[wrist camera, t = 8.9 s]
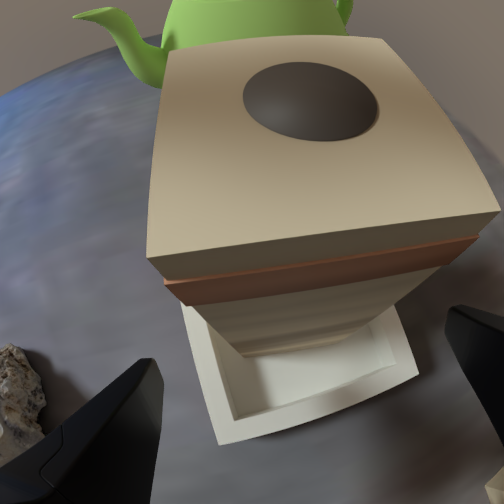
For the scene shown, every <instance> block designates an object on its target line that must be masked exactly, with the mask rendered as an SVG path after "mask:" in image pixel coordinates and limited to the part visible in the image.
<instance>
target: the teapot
mask: <svg viewBox="0 0 504 504" xmlns="http://www.w3.org/2000/svg"><path fill="white" fill-rule="evenodd" d="M352 8H353V0H337V4H336V7H335V5H334V3H333V1H332V0H173V2H172V4H171V7H170V10H169V13H168V16H167V19H166V23H165V26H164V31H163V36H162V44H161V48H159V47H154V46H150V45H148V44H146V43H145V42H144V41H143V40H142V38H141V37H140V35H139V33H138V31H137V29H136V28H135V25H134V23H133V21H132V20H131V18H130V17H129V16H128V15H127V14H126V13H125V12H124V11H122V10H120V9H118V8H115V7H106V8H100V9H95V10H91V11H87V12H84V13H81V14H78V15H75V16H73V18H74V19H83V20H88V21H93V22H96V23H98V24H100V25H101V26H103V27H105V28H106V29H107V30H108V31H109V32H110V33H111V35H112V36H113V38H114V39H115V41H116V43H117V45H118V47H119V49H120V52H121V54H122V56H123V58H124V60H125V62H126V63H127V65H128V67H129V69H130V70H131V71H132V72H133V74H134V75H135V76H136V77H137V78H138V79H140V80H141V81H142V82H143V83H146V84H148V85H150V86H153V87H155V88H160V89H162V86H163V80H164V75H165V69H166V64H167V59H168V54H169V51H173V50H178V49H182V48H187V47H192V46H198V45H203V44H209V43H216V42H223V41H230V40H238V39H247V38H258V37H271V36H291V35H335V36H349V35H348V33H346V29H345V26H346V24H347V22H348V19H349V17H350V14H351V12H352Z"/></svg>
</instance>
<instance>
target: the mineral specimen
mask: <svg viewBox="0 0 504 504" xmlns="http://www.w3.org/2000/svg"><path fill="white" fill-rule="evenodd" d="M40 381H41V378H40V376H39V375H38V374H37V373H36V372H35V371H34V370H33V369H32V368H31V366H30V365H29V362H28V360H27V358H26V356H25V354H24V352H23V350H22V349H21V348H20V347H16V346H14V345H12V344H11V343H9V344H6V345H5V346H4V347H3V348H1V349H0V467H2V466H3V465H5V464H6V463H8V462H9V461H11V460H12V459H14V458H15V457H17V456H19V455H20V454H22V453H23V452H25V451H26V450H28V449H29V448H31V447H32V446H33V445H35V444H36V443H38V442H39V441H40V440H42V439H43V438H44V437H45V435H44V434H43V433H42V432H41V430H42V428H41V426H40V425H39V424H37V418H36V416H38V413H39V412H40V410H41V408H43V407H44V406H46V405H47V403H46V401H45V395H44V393H43V391H42V385H41V382H40Z"/></svg>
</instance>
